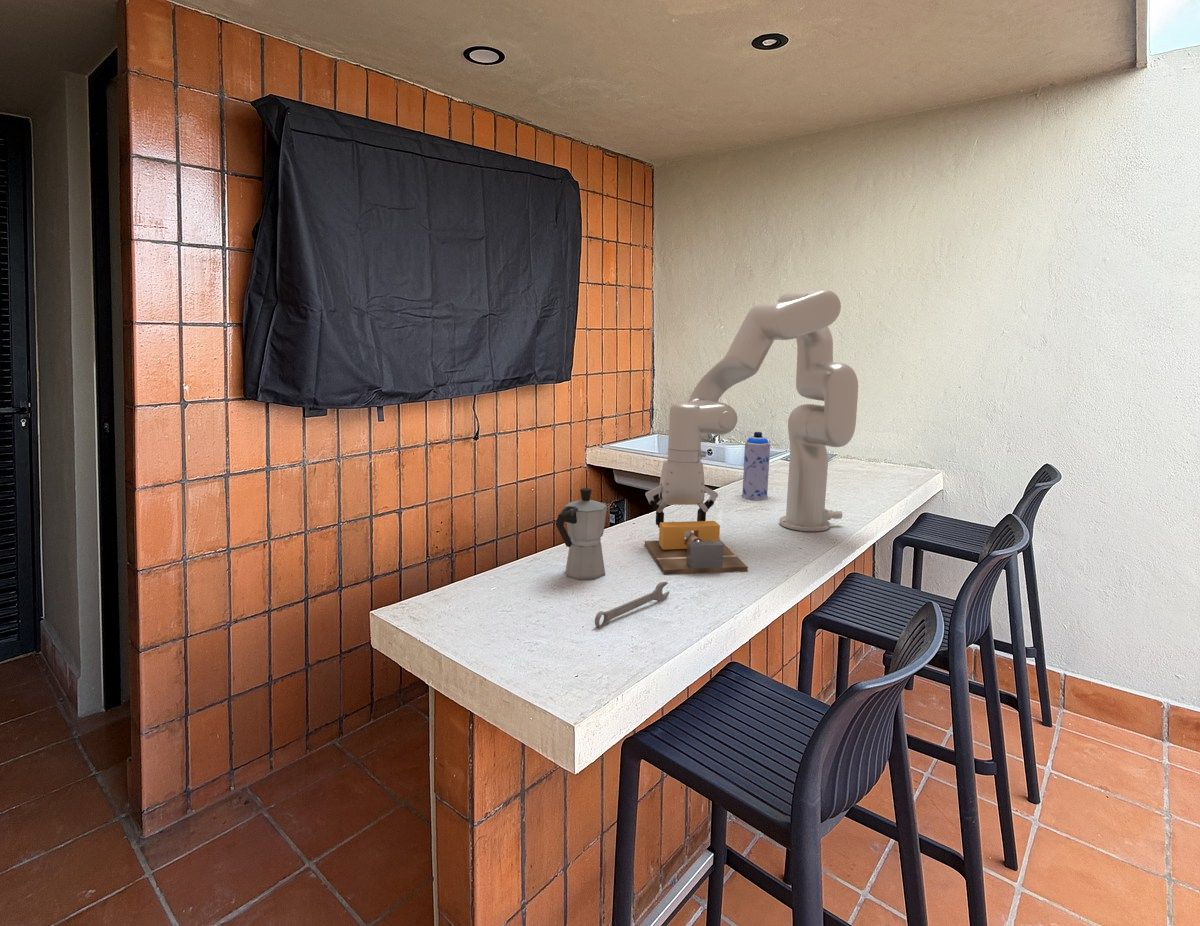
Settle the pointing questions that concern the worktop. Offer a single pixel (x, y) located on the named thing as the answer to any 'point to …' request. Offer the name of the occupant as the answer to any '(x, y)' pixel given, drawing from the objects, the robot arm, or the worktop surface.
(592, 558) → the coffee maker
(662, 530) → the collar
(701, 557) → the grey block with rod
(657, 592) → the combination wrench
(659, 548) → the pipe board
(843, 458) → the worktop surface
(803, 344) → the robot arm
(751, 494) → the aerosol can
